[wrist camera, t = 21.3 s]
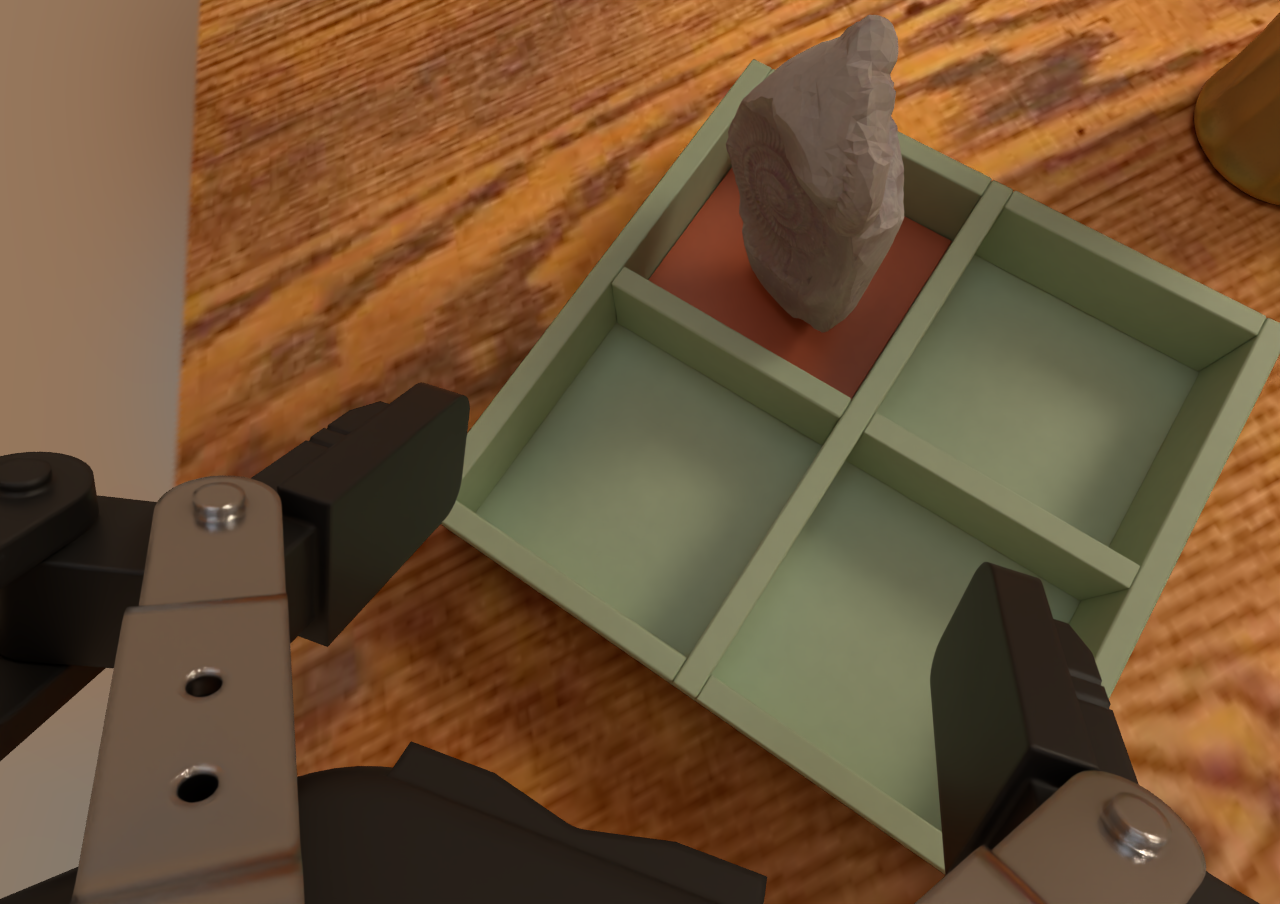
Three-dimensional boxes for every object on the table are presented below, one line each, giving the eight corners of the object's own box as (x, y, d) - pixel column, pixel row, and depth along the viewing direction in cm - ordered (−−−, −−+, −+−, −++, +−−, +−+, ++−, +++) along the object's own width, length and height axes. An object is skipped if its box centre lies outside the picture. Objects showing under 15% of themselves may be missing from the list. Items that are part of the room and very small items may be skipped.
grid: (445, 527, 24) (413, 502, 21) (744, 127, 28) (753, 57, 25) (956, 882, 21) (1004, 912, 18) (1217, 374, 25) (1293, 328, 22)
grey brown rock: (703, 229, 26) (720, -40, 17) (799, 189, 27) (869, -100, 17) (787, 380, 25) (859, 176, 15) (888, 334, 25) (1022, 106, 15)
